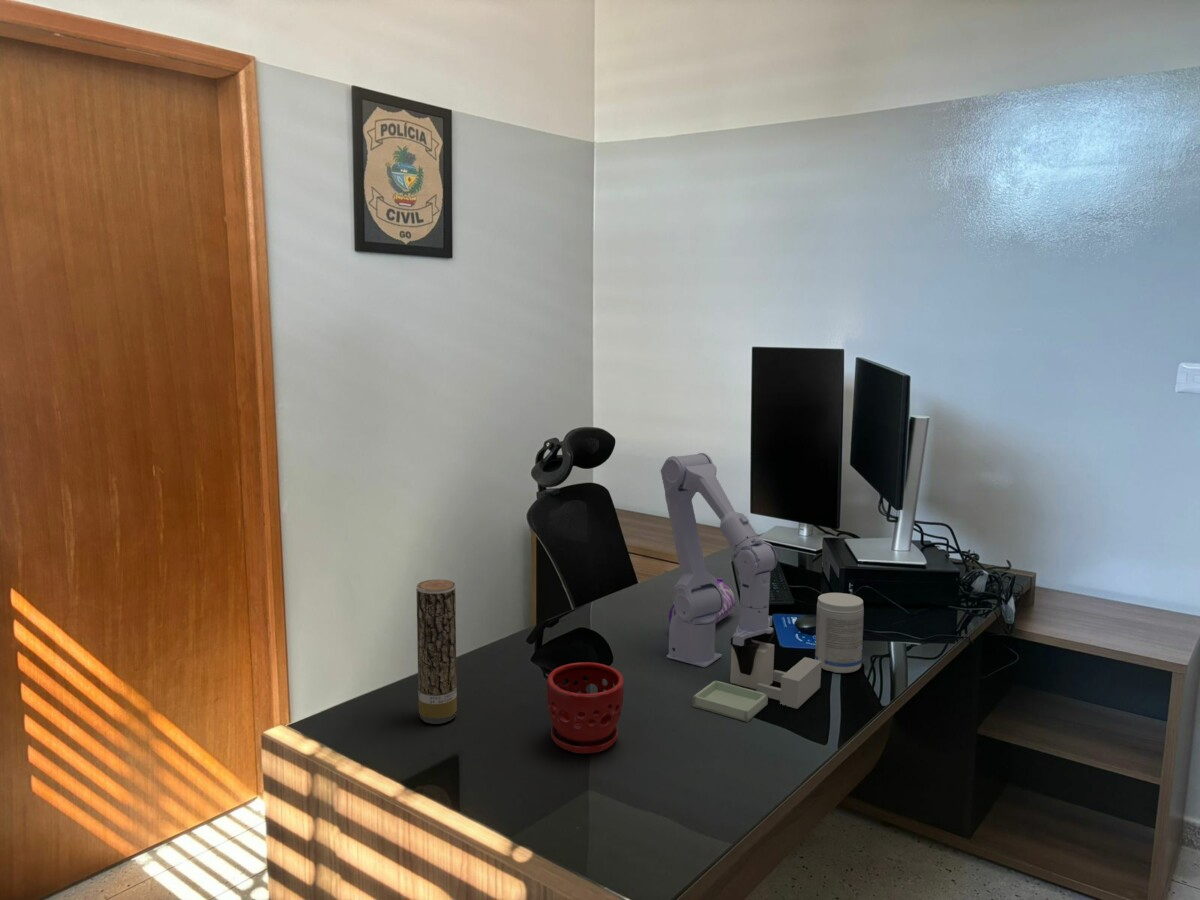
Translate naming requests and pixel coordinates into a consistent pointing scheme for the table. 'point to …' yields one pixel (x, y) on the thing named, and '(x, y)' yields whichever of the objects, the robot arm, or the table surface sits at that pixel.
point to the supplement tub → (839, 632)
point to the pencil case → (728, 602)
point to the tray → (730, 700)
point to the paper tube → (436, 648)
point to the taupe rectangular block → (755, 667)
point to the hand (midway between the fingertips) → (751, 669)
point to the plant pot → (585, 706)
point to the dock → (795, 683)
